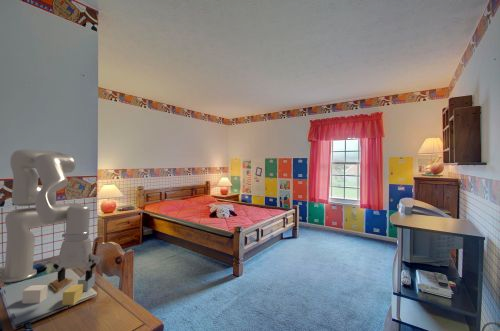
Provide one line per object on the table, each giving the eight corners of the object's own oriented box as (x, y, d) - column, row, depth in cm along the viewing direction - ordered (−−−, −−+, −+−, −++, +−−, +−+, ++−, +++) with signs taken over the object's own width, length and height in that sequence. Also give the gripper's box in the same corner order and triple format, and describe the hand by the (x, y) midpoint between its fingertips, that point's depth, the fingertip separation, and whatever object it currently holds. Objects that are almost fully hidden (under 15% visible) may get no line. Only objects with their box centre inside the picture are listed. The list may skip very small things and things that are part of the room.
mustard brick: (73, 305, 90) (74, 292, 90) (62, 305, 90) (63, 292, 90) (82, 296, 96) (83, 284, 96) (71, 296, 96) (72, 284, 96)
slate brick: (87, 291, 100) (88, 279, 100) (77, 291, 100) (78, 279, 100) (94, 284, 106) (95, 273, 106) (84, 284, 105) (85, 273, 106)
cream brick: (22, 303, 89) (23, 290, 89) (30, 297, 93) (31, 285, 93) (39, 303, 90) (40, 290, 90) (47, 297, 94) (47, 285, 94)
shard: (56, 294, 98) (57, 289, 98) (36, 294, 97) (37, 289, 97) (73, 281, 108) (73, 277, 108) (55, 281, 107) (55, 277, 108)
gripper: (46, 239, 88) (43, 285, 88) (96, 239, 91) (93, 283, 90) (59, 234, 96) (57, 276, 95) (105, 234, 98) (103, 275, 98)
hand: (75, 280), depth 93 cm, fingers open, 9 cm apart
